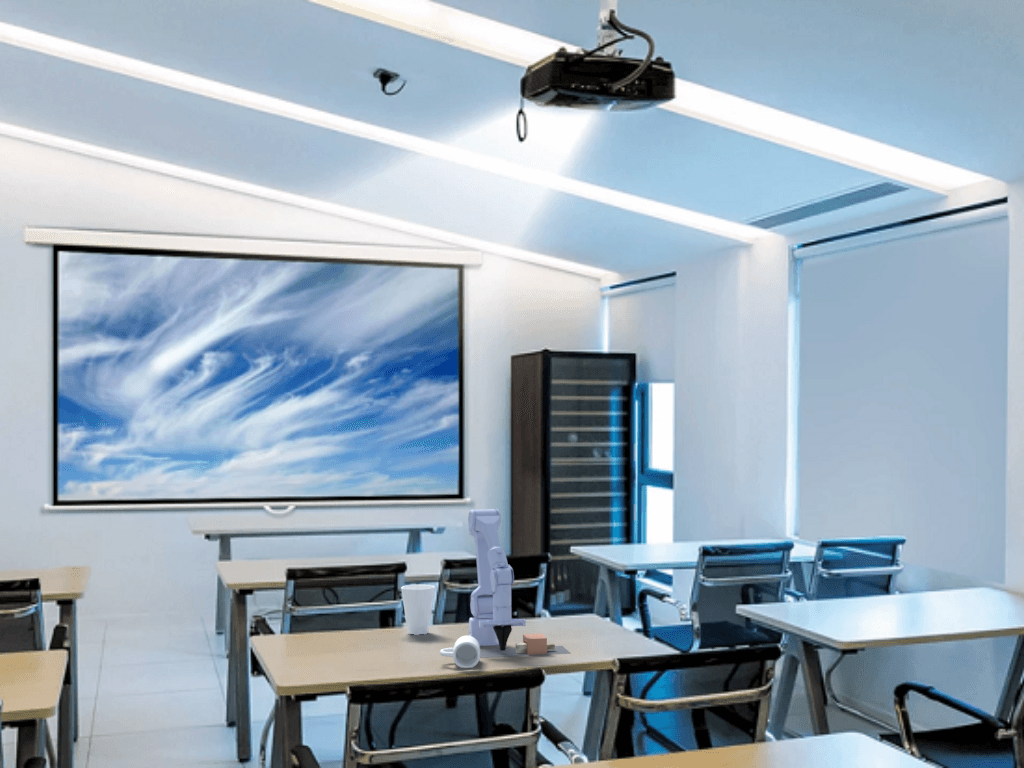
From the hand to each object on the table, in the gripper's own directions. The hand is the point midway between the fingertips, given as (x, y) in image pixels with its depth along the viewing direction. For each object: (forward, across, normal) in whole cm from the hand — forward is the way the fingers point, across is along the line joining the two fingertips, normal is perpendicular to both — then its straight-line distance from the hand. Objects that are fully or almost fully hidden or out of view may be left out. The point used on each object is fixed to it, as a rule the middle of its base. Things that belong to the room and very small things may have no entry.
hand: (502, 650), depth 330 cm
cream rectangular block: (+1, +10, 0) cm, 10 cm away
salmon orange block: (+1, +10, 0) cm, 10 cm away
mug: (+2, -15, -12) cm, 19 cm away
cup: (+2, -22, +41) cm, 47 cm away
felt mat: (+1, +5, +1) cm, 5 cm away
